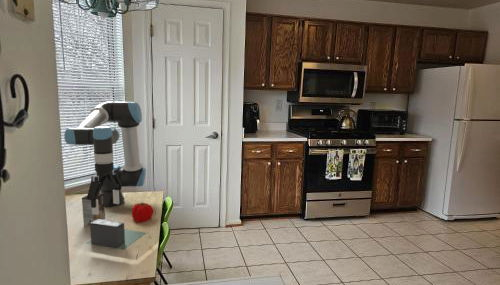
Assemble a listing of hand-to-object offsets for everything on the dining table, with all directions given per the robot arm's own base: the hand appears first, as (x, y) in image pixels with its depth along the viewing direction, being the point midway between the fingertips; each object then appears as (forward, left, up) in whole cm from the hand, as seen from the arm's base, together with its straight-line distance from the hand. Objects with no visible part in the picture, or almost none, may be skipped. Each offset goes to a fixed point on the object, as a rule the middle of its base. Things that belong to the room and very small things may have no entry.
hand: (106, 208), depth 147 cm
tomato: (-30, -2, -19) cm, 36 cm away
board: (-6, 0, -18) cm, 19 cm away
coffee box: (-18, -23, -19) cm, 35 cm away
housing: (0, 0, -17) cm, 17 cm away
